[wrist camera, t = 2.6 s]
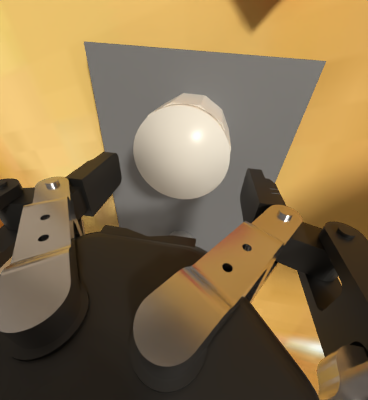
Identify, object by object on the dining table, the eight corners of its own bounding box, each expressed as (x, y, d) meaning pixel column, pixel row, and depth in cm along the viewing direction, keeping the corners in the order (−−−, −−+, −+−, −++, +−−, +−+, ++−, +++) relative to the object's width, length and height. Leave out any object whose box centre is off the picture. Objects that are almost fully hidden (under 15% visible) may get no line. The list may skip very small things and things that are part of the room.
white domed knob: (154, 90, 14) (128, 100, 10) (235, 98, 13) (241, 112, 9) (156, 163, 18) (137, 192, 14) (219, 172, 17) (219, 205, 13)
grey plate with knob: (95, 43, 14) (2, 27, 8) (316, 61, 13) (400, 58, 7) (129, 248, 28) (104, 297, 22) (234, 267, 27) (238, 324, 21)
